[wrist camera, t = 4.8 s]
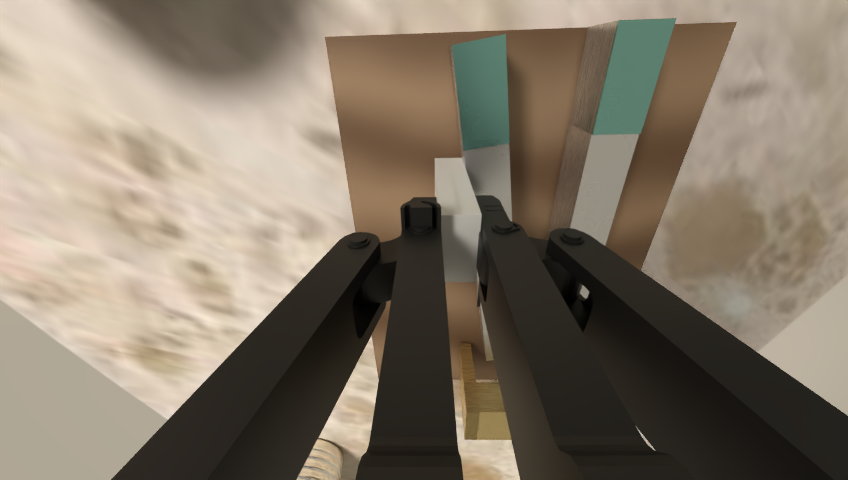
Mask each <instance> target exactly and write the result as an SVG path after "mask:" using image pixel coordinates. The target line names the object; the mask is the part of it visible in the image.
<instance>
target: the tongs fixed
mask: <svg viewBox="0 0 848 480" xmlns="http://www.w3.org/2000/svg"><path fill="white" fill-rule="evenodd" d="M675 21H676V18H672V19H645V20H619V21H614V22H610V23H605V24H601V25H596V26H591V27H588V31H587V36H586V41H585V46H584V51H583V56H582V62H581V67H580V72H579V77H578V82H577V87H576V93H575V98H574V103H573V108H572V113H571V118H570V124H569V129H568V134H567V139H566V144H565V149H564V155H563V160H562V165H561V170H560V175H559V180H558V186H557V191H556V196H555V201H554V206H553V211H552V217H551V222H550V227H549V232H548V237H547V240H548V238H549V234H550V232H551V231H553V230H555V229H559V228H573V229H577V230H579V231H582V232H585V233H587V234H588V235H590V236H592V237H593V238H595V239H596V240H597V241H599V242H600V243H602V244H603V245H606V242H607V238H608V235H609V232H610V229H611V225H612V222H613V219H614V215H615V212H616V209H617V206H618V202H619V199H620V196H621V192H622V189H623V186H624V183H625V179H626V176H627V173H628V169H629V166H630V163H631V160H632V156H633V153H634V150H635V146H636V143H637V140H638V137H639V134H641V132H642V128H643V125H644V122H645V119H646V115H647V112H648V109H649V106H650V102H651V99H652V96H653V93H654V89H655V86H656V83H657V79H658V76H659V73H660V70H661V66H662V63H663V60H664V57H665V53H666V50H667V47H668V44H669V40H670V37H671V34H672V31H673V27H674V24H675ZM580 294H581V295H582V296H583V297H584V298H586V299H587V297H588V294H589V291H588V290H587V289H586V288H585V287H584V286H583V285H582V288H581V292H580Z"/></svg>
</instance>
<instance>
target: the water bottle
mask: <svg viewBox="0 0 848 480" xmlns="http://www.w3.org/2000/svg"><path fill="white" fill-rule="evenodd" d="M342 466H343V455H342V452H341V451H340V449H339V448H338V447H336V446H335V445H334V444H332V443H330V442H328V441H325V440H321V439H317V441H316V443H315V445H314V447H313V449H312V451H311V453H310V455H309V457H308V459H307V460H306V462H305V464H304V466H303V468H302V470H301V472H300V474H299V476H298V478H297V480H340V477H341V473H342Z"/></svg>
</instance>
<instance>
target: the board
mask: <svg viewBox="0 0 848 480" xmlns="http://www.w3.org/2000/svg"><path fill="white" fill-rule="evenodd" d="M736 23H737V22H728V23H700V24H674V27H673V31H672V34H671V37H670V40H669V44H668V47H667V50H666V53H665V57H664V60H663V63H662V66H661V70H660V73H659V76H658V79H657V83H656V86H655V89H654V93H653V96H652V99H651V102H650V106H649V109H648V112H647V115H646V119H645V122H644V125H643V128H642V132H641V134H639V137H638V140H637V143H636V146H635V150H634V153H633V156H632V160H631V163H630V166H629V169H628V173H627V176H626V179H625V183H624V186H623V189H622V192H621V196H620V199H619V202H618V206H617V209H616V212H615V215H614V219H613V222H612V225H611V229H610V232H609V235H608V238H607V242H606V245H605V246H606V247H607V248H609V249H610V250H612V251H613V252H615V253H616V254H617V255H619V256H620V257H622V258H623V259H625V260H626V261H627V262H629V263H630V264H632V265H633V266H634V267H636V268H637V269H639V270H641V268H642V265H643V263H644V260H645V258H646V255H647V252H648V250H649V247H650V245H651V242H652V239H653V237H654V234H655V232H656V229H657V227H658V224H659V221H660V219H661V216H662V214H663V211H664V208H665V206H666V203H667V201H668V198H669V196H670V193H671V190H672V188H673V185H674V183H675V180H676V178H677V175H678V172H679V170H680V167H681V165H682V162H683V159H684V157H685V154H686V152H687V149H688V147H689V144H690V141H691V139H692V136H693V134H694V131H695V129H696V126H697V123H698V121H699V118H700V116H701V113H702V110H703V108H704V105H705V103H706V100H707V98H708V95H709V92H710V90H711V87H712V85H713V82H714V80H715V77H716V74H717V72H718V69H719V67H720V64H721V61H722V59H723V56H724V54H725V51H726V49H727V46H728V43H729V41H730V38H731V36H732V33H733V31H734V28H735V25H736ZM587 31H588V28H561V29H534V30H506V31H478V32H451V33H423V34H395V35H367V36H340V37H325V40H326V46H327V53H328V59H329V65H330V72H331V78H332V85H333V91H334V97H335V104H336V110H337V116H338V123H339V129H340V136H341V142H342V148H343V155H344V161H345V167H346V174H347V180H348V187H349V193H350V199H351V206H352V212H353V218H354V225H355V231H356V233H357V232H368V233H372V234H375V235H376V236H378V238H379V240H380V242H385V241H389V240H393V239H395V238H398V237H399V236H401V231H402V228H401V212H400V207H401V206H402V204H404V203H406V202H408V201H410V200H411V199H412V198H413V197H435V158H461V150H460V142H459V133H458V124H457V115H456V107H455V98H454V89H453V80H452V71H451V63H450V54H449V47H450V46H451V45H454V44H459V43H464V42H469V41H474V40H479V39H484V38H489V37H494V36H499V35H503V34H506V56H507V84H508V111H509V139H510V143H509V152H510V179H511V205H512V222H515V223H517V224H519V225H521V226H522V227H523V228H524V230H525V232H526V234H527V235H528V237H533V238H538V239H545V240H547V237H548V232H549V227H550V222H551V217H552V211H553V206H554V201H555V196H556V191H557V186H558V180H559V175H560V170H561V165H562V160H563V155H564V149H565V144H566V139H567V134H568V129H569V124H570V118H571V113H572V108H573V103H574V98H575V93H576V87H577V82H578V77H579V72H580V67H581V62H582V56H583V51H584V46H585V41H586V36H587ZM445 288H446V301H447V314H448V327H449V341H450V354H451V367H452V379H459V348H460V343H470V344H471V351H472V359H473V366H474V373H475V379H498V377H497V372H496V368H495V363H494V360H492V361H486V356H485V350H484V345H483V339H482V334H481V326H480V317H479V308H478V307H477V291H476V282H445ZM390 304H391V301H386V308H385V310H384V312H383V314H382V316H381V318H380V320H379V321H378V323H377V325H376V327H375V329H374V331H373V333H372V340H373V346H374V352H375V359H376V365H377V372H378V378H379V377H380V370H381V364H382V357H383V350H384V344H385V337H386V331H387V324H388V317H389V311H390Z"/></svg>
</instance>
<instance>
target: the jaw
mask: <svg viewBox="0 0 848 480" xmlns="http://www.w3.org/2000/svg"><path fill="white" fill-rule="evenodd" d="M449 54H450V63H451V71H452V80H453V89H454V98H455V107H456V115H457V124H458V133H459V142H460V150H461V158H462V160H463V163H464V165H465V168H466V171H467V174H468V177H469V180H470V183H471V185H472V188H473V191H474V194H475V195H493V196H494V197H496V198H497V199H499V200H500V202H501V204H502V206H503V208H504V210H505V212H506V214H507V216H508V218H509V220H510V221H512V205H511V179H510V152H509V143H510V139H509V111H508V84H507V56H506V34H503V35H499V36H494V37H489V38H484V39H479V40H474V41H469V42H464V43H459V44H454V45H451V46H450V47H449ZM478 288H479V276H478V272H477V279H476V291H477V299H478ZM478 308H479V317H480V326H481V334H482V339H483V345H484V350H485V356H486V361H492V360H494V359H493V354H492V350H491V346H490V341H489V337H488V332H487V328H486V323H485V319H484V314H483V310H482V305H481V303H480V307H478Z"/></svg>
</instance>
